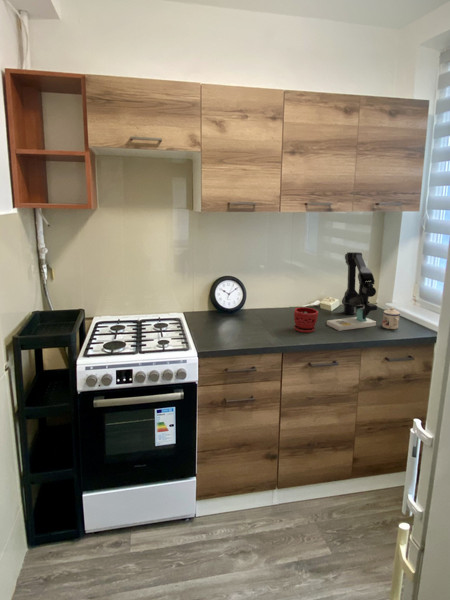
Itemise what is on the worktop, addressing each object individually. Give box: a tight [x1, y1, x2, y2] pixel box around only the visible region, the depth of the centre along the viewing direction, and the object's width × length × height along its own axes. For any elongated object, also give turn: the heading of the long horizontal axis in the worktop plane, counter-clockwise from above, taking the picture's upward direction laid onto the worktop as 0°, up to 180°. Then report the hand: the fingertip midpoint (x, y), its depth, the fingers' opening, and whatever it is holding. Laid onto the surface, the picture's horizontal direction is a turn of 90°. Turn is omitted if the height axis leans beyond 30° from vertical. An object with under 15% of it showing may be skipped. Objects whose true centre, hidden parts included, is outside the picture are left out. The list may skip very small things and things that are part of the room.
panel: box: [326, 316, 377, 332], centre depth 247 cm, size 12×26×3 cm, turn 111°
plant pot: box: [293, 306, 319, 334], centre depth 236 cm, size 13×13×12 cm
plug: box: [356, 308, 368, 322], centre depth 249 cm, size 4×4×10 cm
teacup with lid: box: [382, 307, 401, 330], centre depth 242 cm, size 12×9×12 cm
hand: (361, 318), depth 249 cm, fingers closed on plug, 4 cm apart
